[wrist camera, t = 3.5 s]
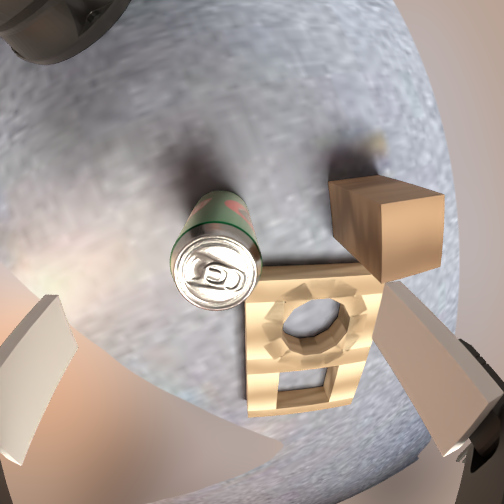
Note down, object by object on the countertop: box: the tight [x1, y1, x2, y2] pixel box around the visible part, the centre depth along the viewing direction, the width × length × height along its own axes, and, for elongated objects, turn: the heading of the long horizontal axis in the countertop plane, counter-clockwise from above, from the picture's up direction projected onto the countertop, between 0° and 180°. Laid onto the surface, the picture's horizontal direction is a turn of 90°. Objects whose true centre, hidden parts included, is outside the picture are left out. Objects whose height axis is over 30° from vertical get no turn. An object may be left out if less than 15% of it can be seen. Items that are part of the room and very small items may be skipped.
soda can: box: [170, 190, 263, 311], centre depth 20 cm, size 5×5×12 cm
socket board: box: [244, 262, 385, 417], centre depth 30 cm, size 20×14×3 cm
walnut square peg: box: [328, 175, 444, 284], centre depth 21 cm, size 6×6×10 cm
